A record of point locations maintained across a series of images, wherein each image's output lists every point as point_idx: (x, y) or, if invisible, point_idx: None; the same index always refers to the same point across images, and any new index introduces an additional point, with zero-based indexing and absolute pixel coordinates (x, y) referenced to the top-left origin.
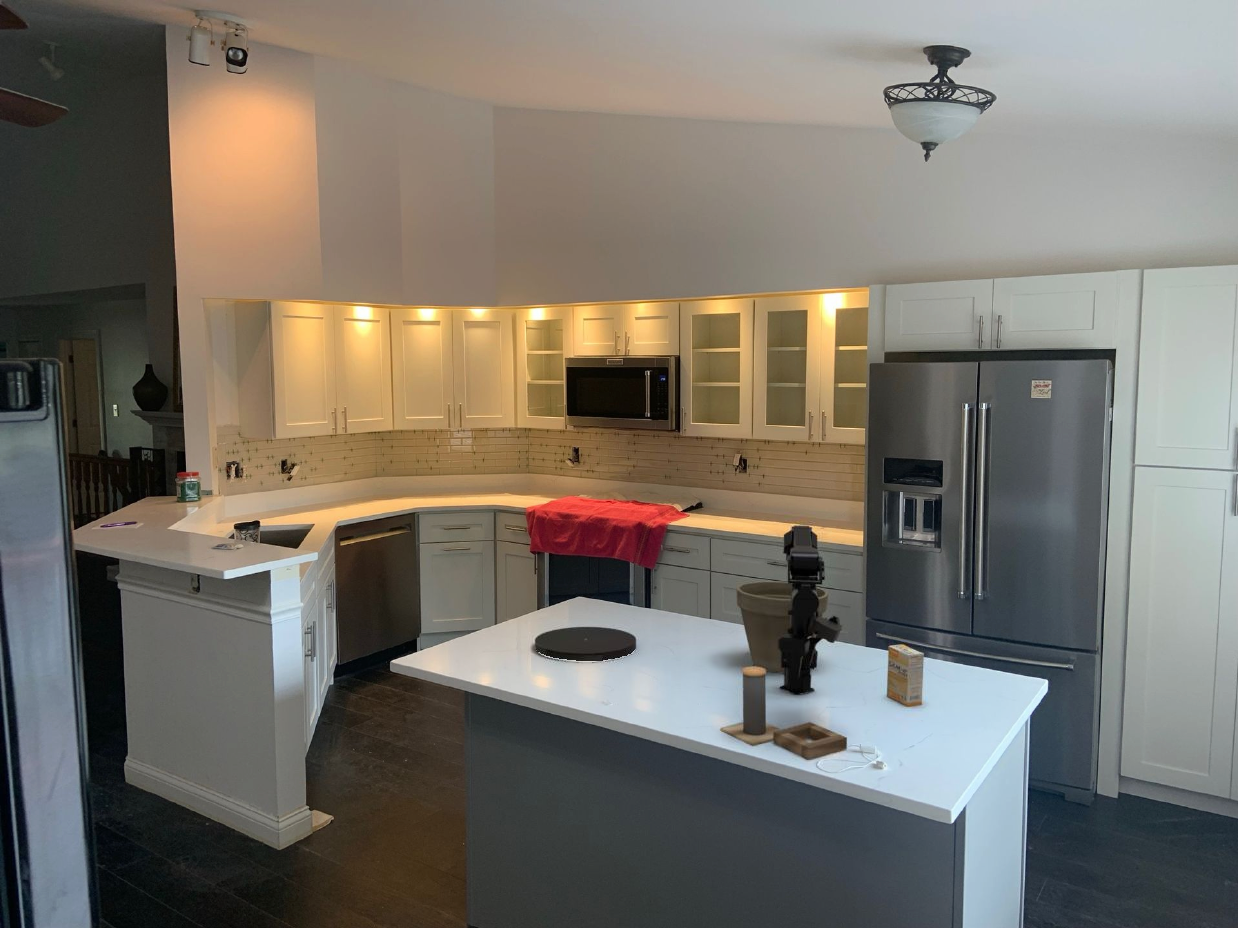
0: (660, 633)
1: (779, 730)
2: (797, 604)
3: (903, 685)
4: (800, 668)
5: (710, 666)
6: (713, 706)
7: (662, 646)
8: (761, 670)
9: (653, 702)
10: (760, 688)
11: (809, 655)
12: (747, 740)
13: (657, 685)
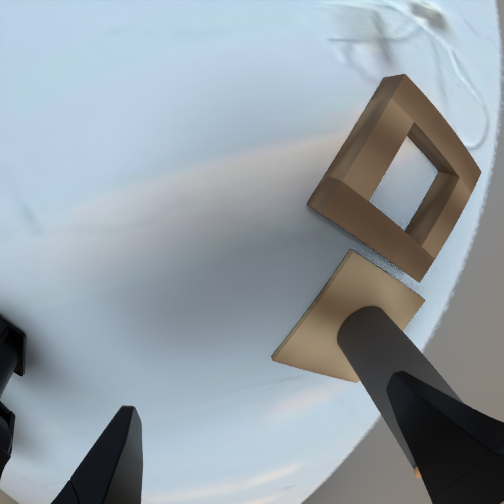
0: (21, 485)
1: (411, 273)
2: None
3: None
4: (432, 403)
5: (46, 460)
6: (224, 436)
7: (47, 488)
8: None
9: (257, 474)
10: (454, 392)
11: (121, 482)
12: (412, 315)
13: (180, 489)
